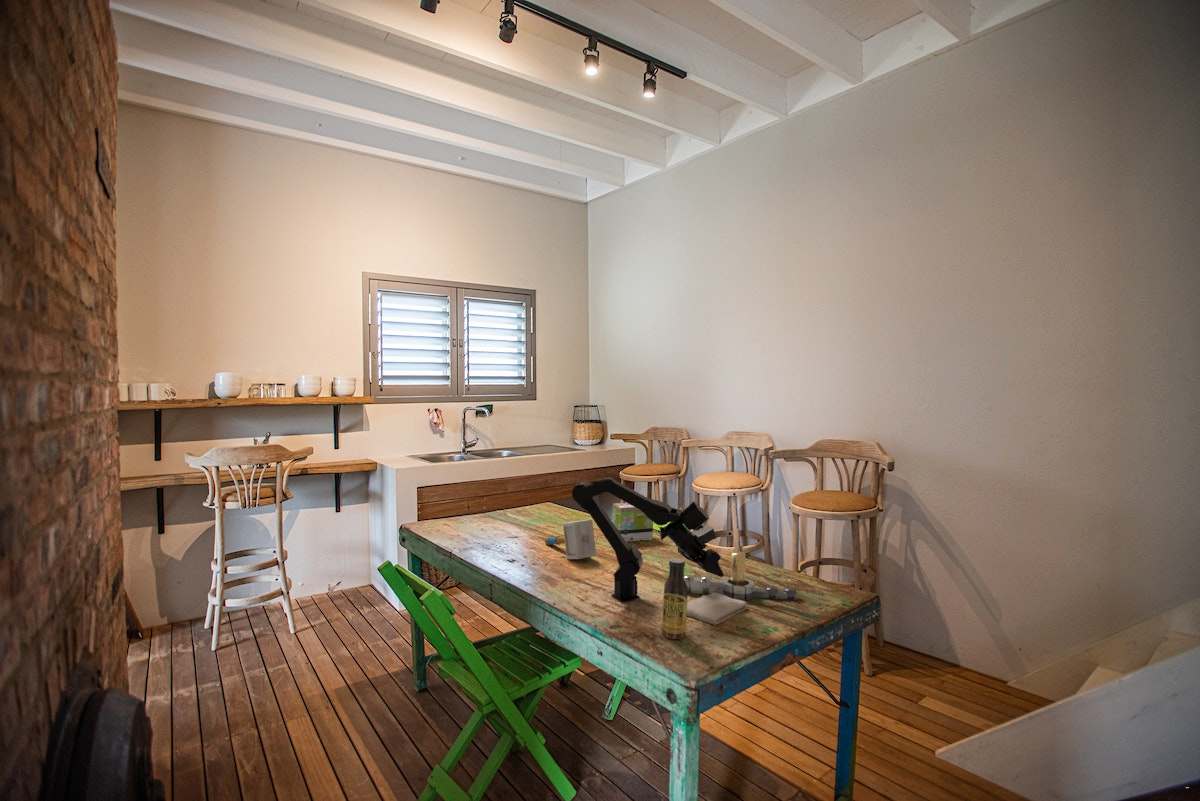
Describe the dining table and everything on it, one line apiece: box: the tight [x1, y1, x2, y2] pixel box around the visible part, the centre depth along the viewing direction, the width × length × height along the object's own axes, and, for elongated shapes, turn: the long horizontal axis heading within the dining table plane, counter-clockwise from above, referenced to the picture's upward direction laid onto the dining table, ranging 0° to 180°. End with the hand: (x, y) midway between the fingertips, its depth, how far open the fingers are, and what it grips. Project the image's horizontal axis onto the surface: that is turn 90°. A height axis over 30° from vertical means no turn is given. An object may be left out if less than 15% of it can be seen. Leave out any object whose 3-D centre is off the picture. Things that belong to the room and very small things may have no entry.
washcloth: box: [686, 593, 748, 626], centre depth 169 cm, size 12×18×3 cm, turn 137°
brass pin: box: [730, 551, 746, 586], centre depth 182 cm, size 4×4×13 cm
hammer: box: [544, 518, 598, 560], centre depth 228 cm, size 8×13×30 cm
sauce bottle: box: [661, 557, 688, 640], centre depth 152 cm, size 7×6×20 cm
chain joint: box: [684, 574, 799, 602], centre depth 182 cm, size 35×9×5 cm, turn 80°
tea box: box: [611, 502, 654, 543], centre depth 248 cm, size 15×10×15 cm, turn 111°
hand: (715, 571), depth 180 cm, fingers open, 9 cm apart
